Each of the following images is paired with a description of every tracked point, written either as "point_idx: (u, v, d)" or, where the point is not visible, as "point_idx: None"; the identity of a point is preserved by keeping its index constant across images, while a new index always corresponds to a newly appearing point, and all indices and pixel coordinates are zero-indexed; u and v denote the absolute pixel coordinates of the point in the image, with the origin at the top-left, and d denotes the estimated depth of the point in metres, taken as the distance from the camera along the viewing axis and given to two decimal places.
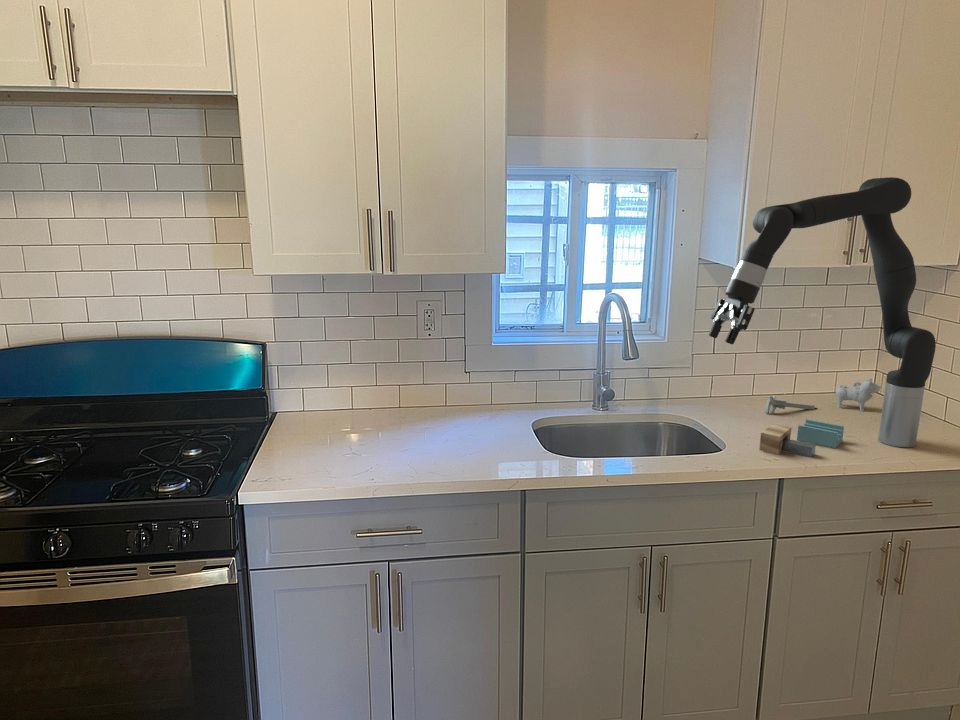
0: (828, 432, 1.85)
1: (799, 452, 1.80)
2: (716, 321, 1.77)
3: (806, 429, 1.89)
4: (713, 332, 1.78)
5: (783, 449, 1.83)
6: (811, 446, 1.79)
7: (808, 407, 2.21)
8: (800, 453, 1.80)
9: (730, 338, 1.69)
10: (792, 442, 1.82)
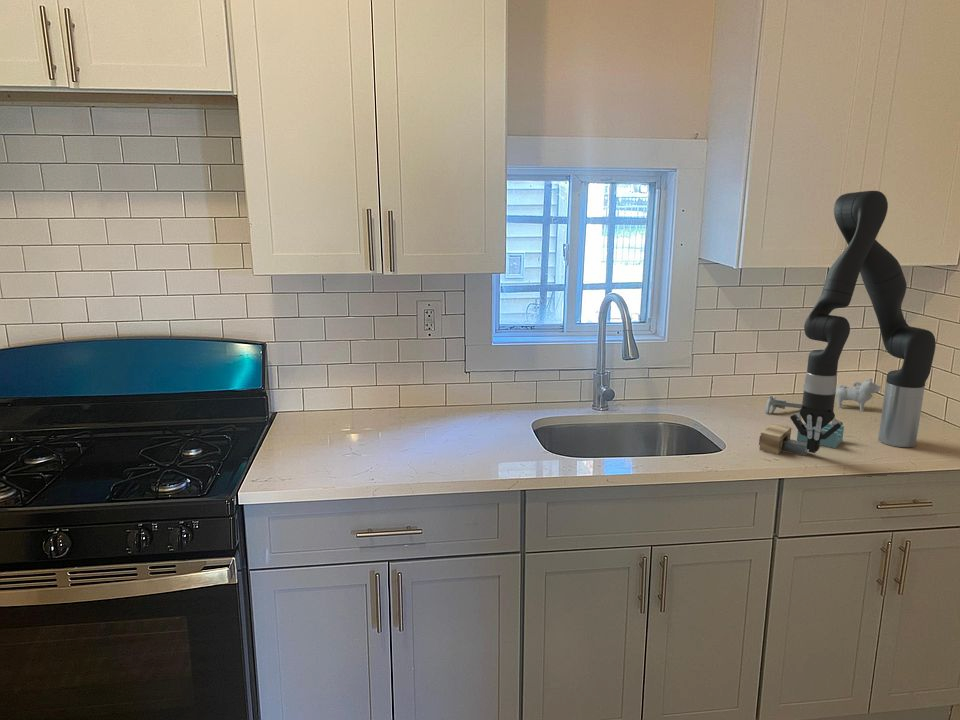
0: None
1: (792, 450, 1.82)
2: (812, 437, 1.78)
3: None
4: None
5: None
6: (804, 444, 1.80)
7: None
8: (793, 451, 1.81)
9: (817, 449, 1.78)
10: (785, 441, 1.83)
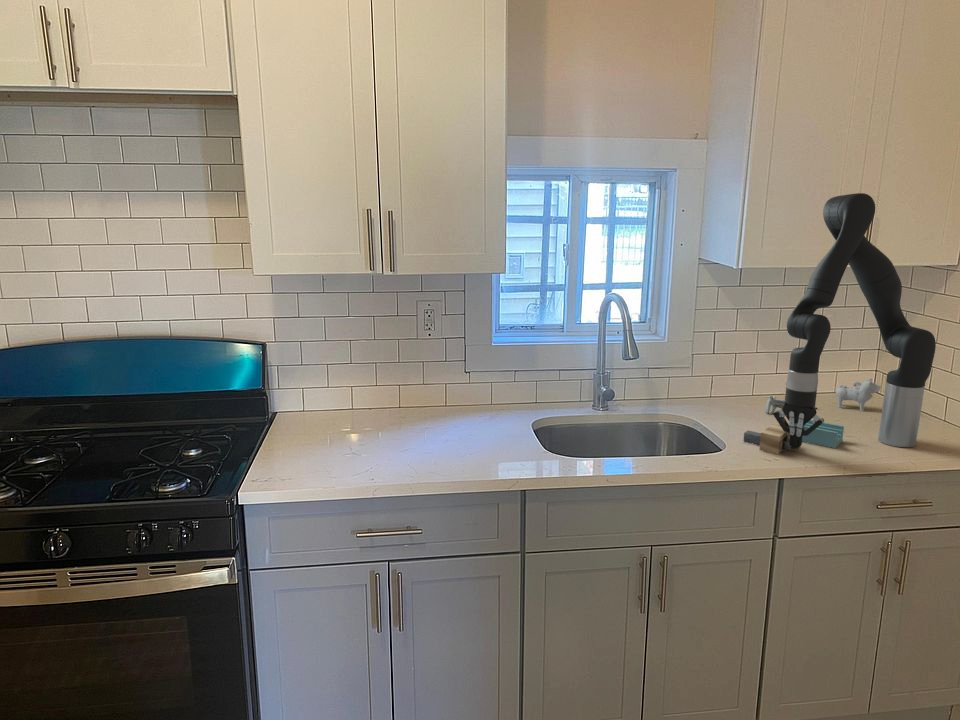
0: (828, 432, 1.85)
1: None
2: (794, 433, 1.81)
3: (806, 429, 1.89)
4: None
5: None
6: (787, 441, 1.83)
7: None
8: None
9: (799, 445, 1.81)
10: None
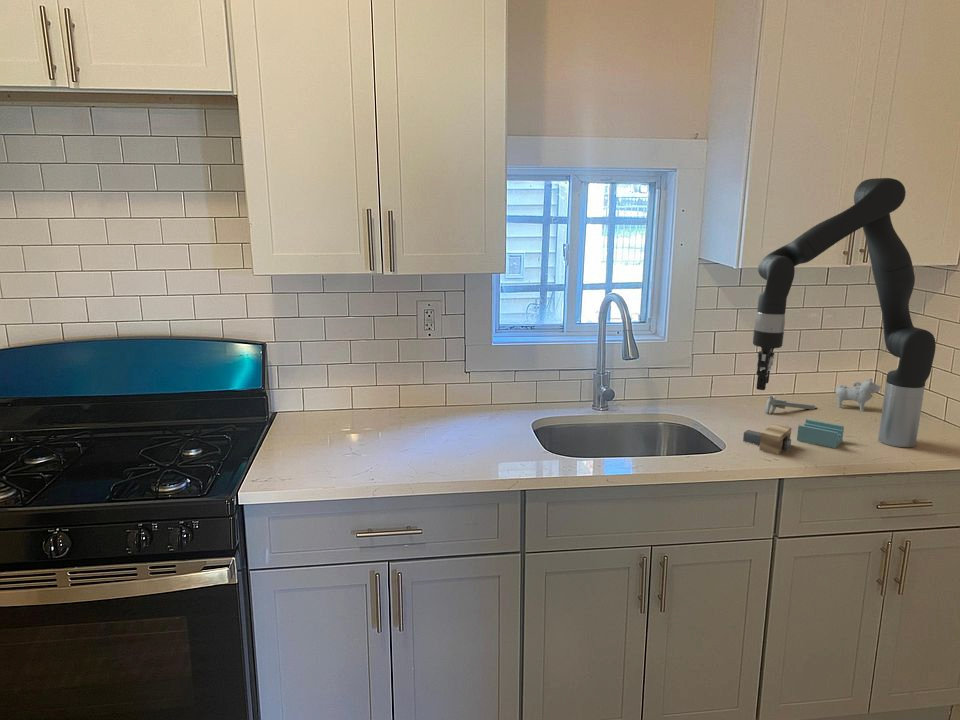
0: (828, 432, 1.85)
1: None
2: None
3: (806, 429, 1.89)
4: None
5: None
6: (786, 440, 1.83)
7: (808, 407, 2.21)
8: None
9: (758, 385, 1.81)
10: None
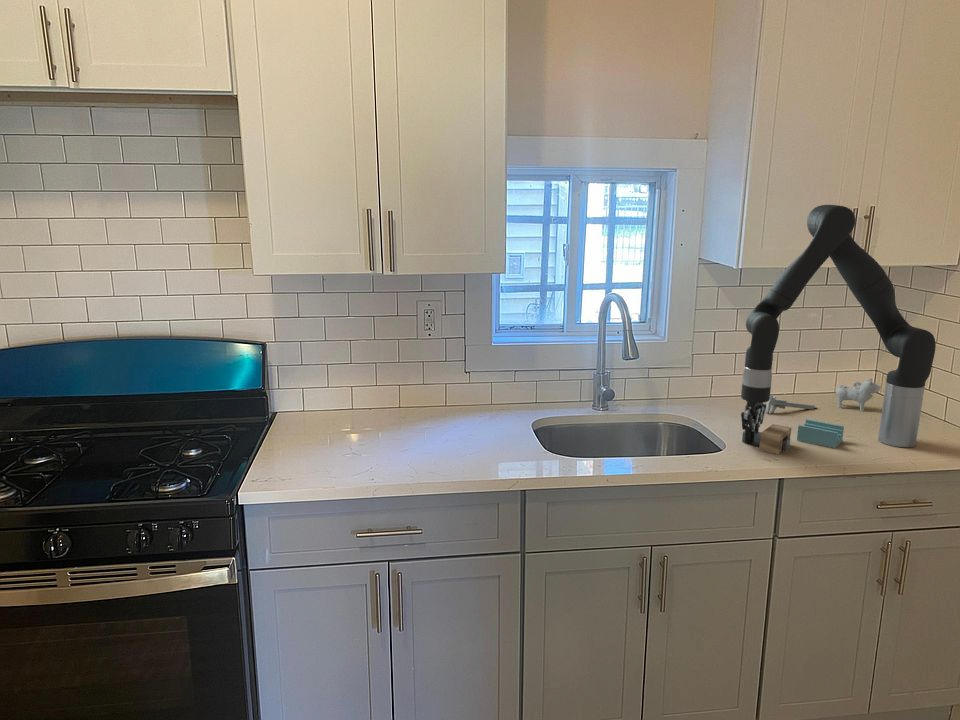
0: (828, 432, 1.85)
1: None
2: None
3: (806, 429, 1.89)
4: None
5: (759, 443, 1.87)
6: (786, 440, 1.83)
7: (808, 407, 2.21)
8: None
9: (745, 439, 1.88)
10: None
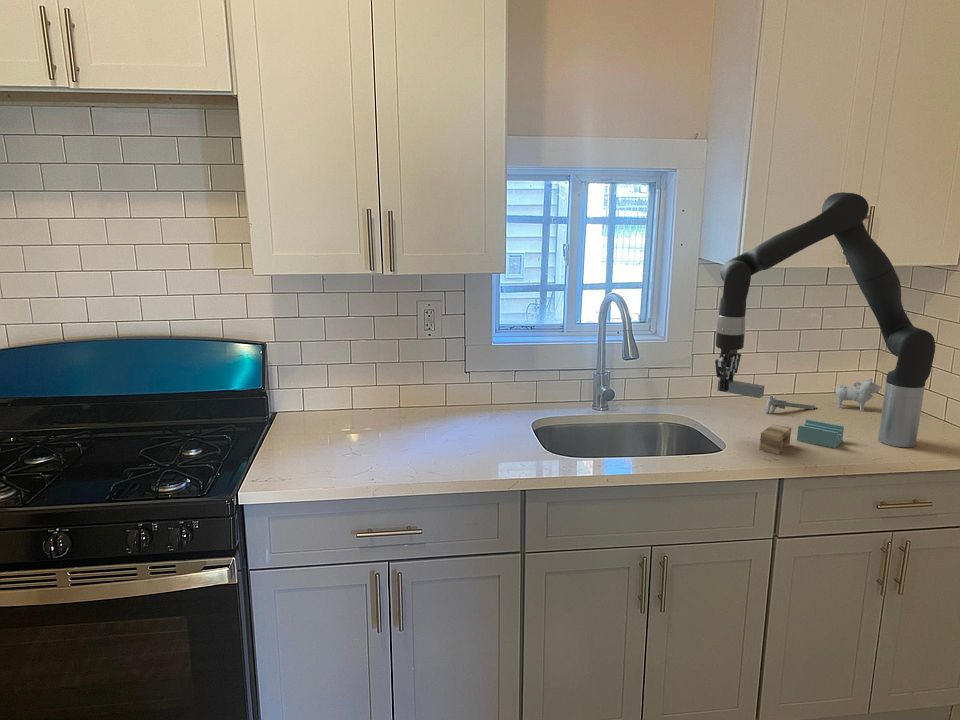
0: (828, 432, 1.85)
1: (748, 393, 1.87)
2: None
3: (806, 429, 1.89)
4: None
5: (734, 391, 1.89)
6: (760, 386, 1.85)
7: (808, 407, 2.21)
8: (749, 394, 1.87)
9: (720, 387, 1.91)
10: (742, 384, 1.88)
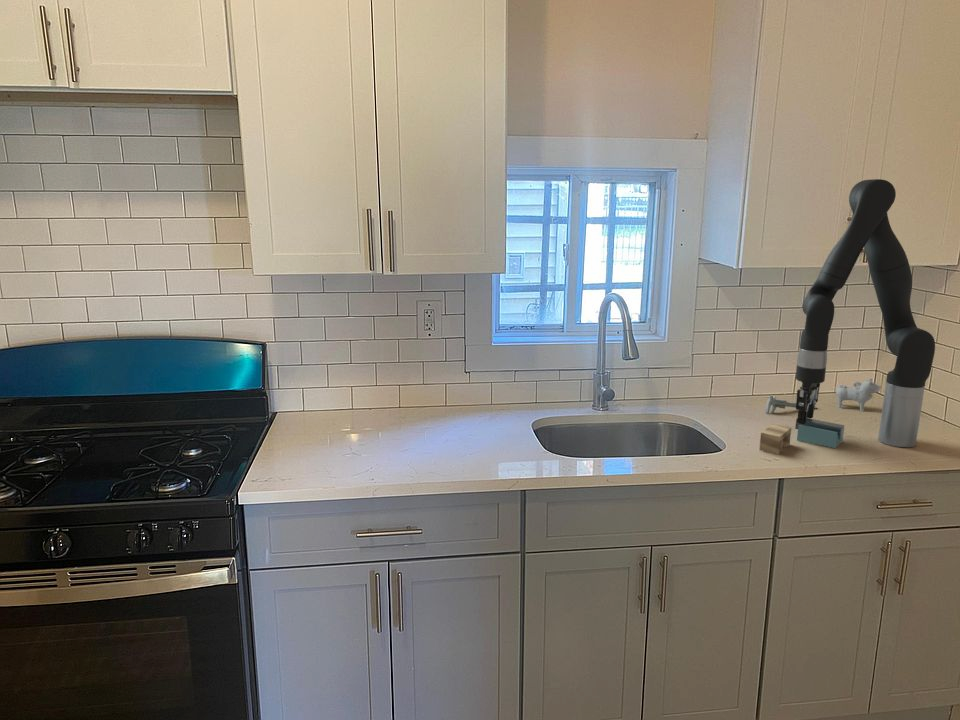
0: (828, 432, 1.85)
1: None
2: None
3: (806, 429, 1.89)
4: (807, 413, 1.95)
5: None
6: (840, 426, 1.86)
7: None
8: None
9: (798, 419, 1.90)
10: (821, 423, 1.89)
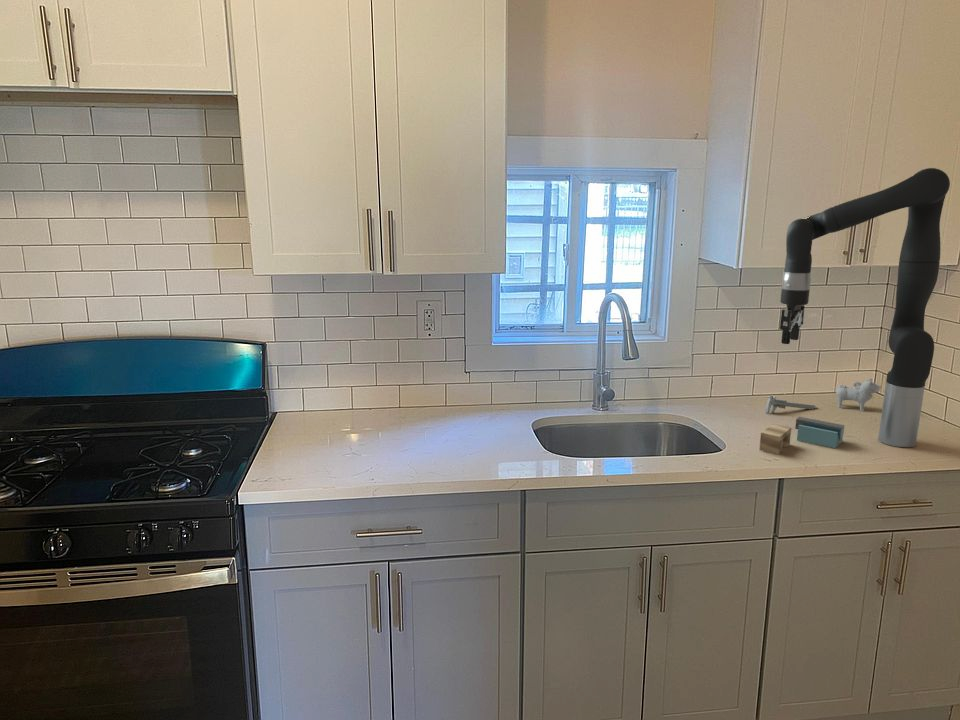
0: (828, 432, 1.85)
1: None
2: (792, 325, 2.02)
3: (806, 429, 1.89)
4: (792, 335, 2.02)
5: None
6: (840, 426, 1.86)
7: (809, 407, 2.21)
8: None
9: (782, 339, 1.96)
10: (821, 423, 1.89)
